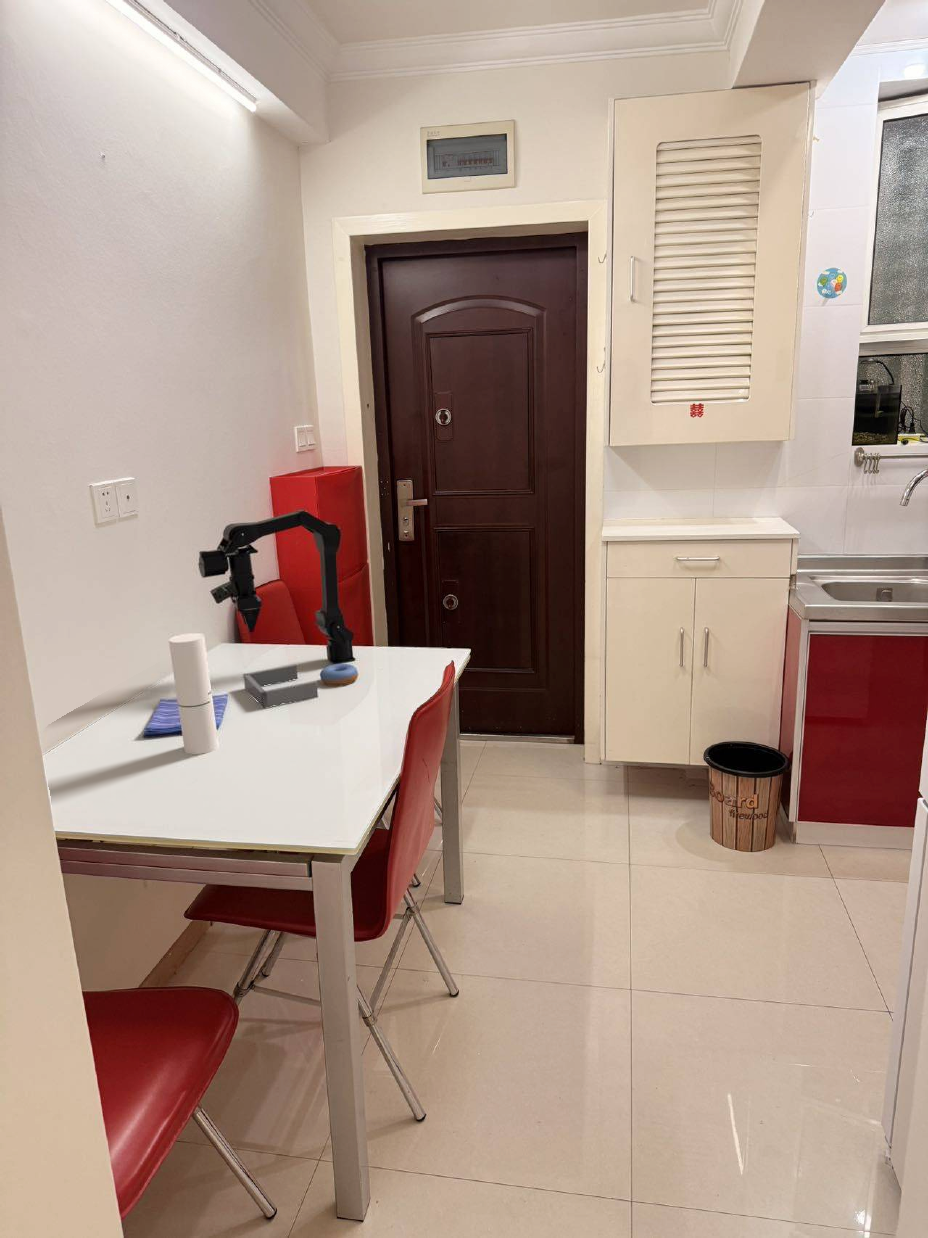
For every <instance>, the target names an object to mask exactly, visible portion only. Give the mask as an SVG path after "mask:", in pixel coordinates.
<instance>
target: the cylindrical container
mask: <svg viewBox="0 0 928 1238" xmlns="http://www.w3.org/2000/svg"><path fill="white" fill-rule="evenodd" d="M205 639H206V638H205V635H204V634H203V633H199V632H198V633H196V632H194V633H190V632H188V633H181V634H178V635H175V636H174V635H173V636H172V637H170V638H169V639H168V643H169V644H168V645H169V650H170V657H171V664H172V672H173V679H174V686H175V692H176V700H177V701H178V708H179V715H180V721H181V728H182V734H181V735H182V741H183V747H184V752H185V753H186V754H188V753H189V754H188V755H202V753H204V754H208V753H211V752H213V751H215V750H217V749H218V748H219V746H220V745H219V737H218V730H217V729H216V722H215V714H214V707H213V699H212V696H213V692H212V687H211V679H210V678H211V677H210V671H209V664H208V656H207V646H206V640H205ZM210 751H211V752H210Z"/></svg>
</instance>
